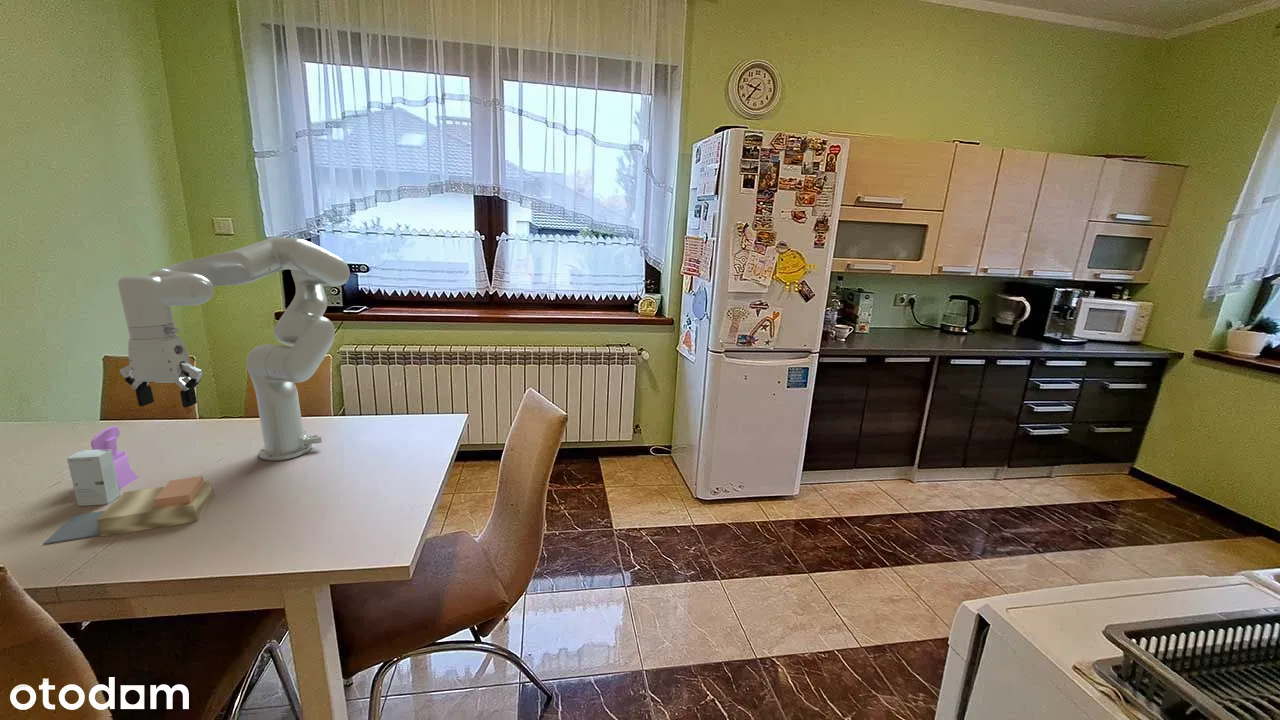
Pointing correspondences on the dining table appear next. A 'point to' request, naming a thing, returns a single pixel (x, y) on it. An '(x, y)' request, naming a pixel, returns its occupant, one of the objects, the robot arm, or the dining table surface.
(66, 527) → the mat
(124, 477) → the purple flanged fixture
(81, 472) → the skincare box
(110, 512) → the board
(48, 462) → the dining table surface
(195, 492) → the tile
